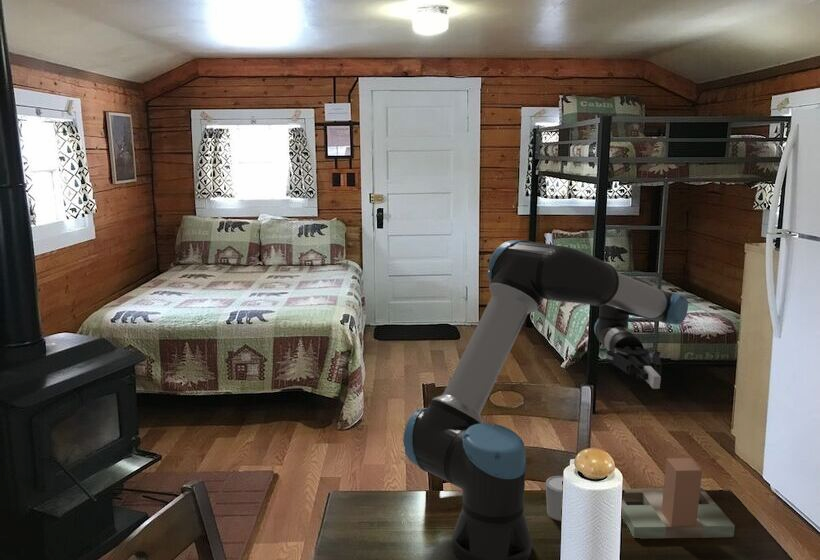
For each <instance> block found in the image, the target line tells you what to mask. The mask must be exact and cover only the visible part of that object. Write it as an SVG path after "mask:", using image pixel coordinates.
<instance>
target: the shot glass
mask: <svg viewBox="0 0 820 560" xmlns="http://www.w3.org/2000/svg"><path fill="white" fill-rule="evenodd" d="M562 481H563V475H554V476H550V477H548V478H547V479H546V481H545V495H546V496H545V499H546V514H547V515H548V516H549V517H550V519H553V520H555V521H559V522H562V521H561V509H562Z"/></svg>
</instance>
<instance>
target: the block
mask: <svg viewBox="0 0 820 560" xmlns="http://www.w3.org/2000/svg"><path fill="white" fill-rule="evenodd" d="M664 468H665V469H664V470H665V471H664V481H663V488H664V490H663V501H662V514H663V515H664V517H665V518H666V520H667V521H668V522H669V524H670V525H671V526H696V524H697V514H698V505H699V495H700V488H701V485H702V484H701V483H702V472H703V470H702V468H701V467H700V466H698V465H697V463H696V462H695V460H693V459H692V458H691V457H689V458H688V457H681V458H680V457H677V458H675V457H674V458H673V457H671V458H668V457H667V458H666V459H665V467H664Z"/></svg>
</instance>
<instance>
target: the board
mask: <svg viewBox="0 0 820 560" xmlns="http://www.w3.org/2000/svg"><path fill="white" fill-rule="evenodd" d="M622 489H623V490H624V491H625V493H624V496H623V500H622V518H621V520H622V519H623V520H622V522H623V523H624V522H625V523H624V525H625V524H626V525H627V527H628V528H629V530H630V532H631V533H630V532H629V533H630V535H631V534H632V535H631V537H632V536H633V537H634V538H640V539H686V538H687V539H689V538H690V539H695V538H700V539H701V538H705V539H706V538H734V535H735V526H736V525H735V524H734V523H733V521H731V519H730V518H729V517H728V516H727V515H726V513H725V512H723V510H722V509H721V507H720V506H718V504H717V503H716V502H715V501H714V500H713V499H712V497H711V496H710V495H709V494H708V493H707V492H706V490H705V489H704V488H702V487H700V495H699V505H698V514H697V524H696V526H671V525H670V524H669V522H668V521H667V520H666V518H665V517H664V515H663V514H662V501H663V490H664V487H663V488H622ZM626 525H625V526H626ZM627 527H626V528H627ZM628 528H627V529H628ZM629 530H628V531H629ZM633 537H632V538H633ZM634 538H633V539H634Z"/></svg>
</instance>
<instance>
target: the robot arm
mask: <svg viewBox="0 0 820 560" xmlns="http://www.w3.org/2000/svg"><path fill="white" fill-rule="evenodd" d="M487 267H488V269H489V270H488V271H487V277H488V282H489V283H490V284H489V286H488V289H489V293H490V295H491V297H490V299H489V301H488V302H487V305H486V307H485V310H484V311H483V313H482V315H481V317H480V318H479V322H477V326H476V328H475V329H474V331H473V334H471V335H472V336H471V337H470V339H469V341H468V343H467V345H466V347H465V349H464V351H463V354H462V355H461V357H460V360H459V361H458V364H457V365H456V368H455V369H454V370H453V373H452V375H451V377H450V379H449V381H448V382H447V383H448V384H447V386H446V387H445V389H444V392H443V393H442V394H441V395H438V396H435V397H433V398H432V399H431V400H430V403H429V405H428V407H424V408H423V407H422V408H420V409H417V411H414V412H413V413H412V415H411V416H410V417H409V418H408V420H407V422H406V424H405V428H404V431H403V435H402V436H403V437H402V438H403V439H402V441H403V443H402V444H403V446H404V453H405V456H406V457H407V459H408V460H409V461H410V462H411V463H412V464H413V465H415V466H417V467H419V468H420V470H422V471H424V472H426V473H430V474H432V475H433V476H436V477H437V478H439V479H441V480H443V481H446V482H448V483H450V484H451V485H454V486H455V487H458V488H459V489H461V491H462V507H461V510H460V513H459V516H458V519H457V522H456V524H455V527H454V529H453V533H452V548H453V551H454V554H455V555H456V556H457V557H458V558H459V560H529V558H530V556H531V554H532V541H533V539H532V535H531V532H530V530H529V526H528V523H527V520H526V516H525V514H524V507H525V505H524V504H525V490H526V489H525V488H526V487H525V486H526V485H525V484H526V470H527V458H526V447H525V443H524V441H523V439H522V438H521V437H520V436H519V434H518V433H517V432H515V431H514V430H512V429H510V428H509V427H506V426H503V425H501V424H497V423H495V424H491V423H489V422H486V423H485V422H483V419H482V416H481V413H482V410H483V409H484V406H485V404H486V403H487V400H488V398H489V396H490V395H491V392H492V390H493V388H494V385H495V383H497V379H498V377H499V375H500V373H501V371H502V369H503V367H504V365H505V363H506V361H507V358H508V356H509V354H510V352H511V350H512V348H513V346H514V344H515V342H516V340H517V338H518V335H519V333H520V331H521V329H522V327H523V326H524V323H525V321H526V319H527V317H528V315H529V314H531V313H534V312H537V311H538V310H539V308H540V306H541V304H542V302H543V299H545V300H550V301H556V302H562V303H573V304H582V305H584V304H586V305H590V306H594V307H598V308H599V310H598V311H599V313H598V318H597V319H596V321H595V323H594V325H593V326H594V327H593V330H594V334H595V336H596V339H597V340H598V342H600V343H601V345H602V346H603V347H604V348H605V349H606V350H607V351H606V362H608V363H610V364H612V365H614V367H617V368H618V369H620V370H622V371H623V372H624V373H626V374H627V375H629V376H633V375H634V374H635V375H636V379H637V380H643V381H645V382H646V383H647V384H649V386H650V387H651V388H652V390H653V389H654V390H655V389H656V390H657V389H660V388H661V380H662V376H661V374H662V368H663V367H662V365H663V364H662V362H661V352H660V351H655V352H651V353H650V351H649V350H648V349H646V348H644V345H643V343H642V342H641V340H640V339H639V338H638V336H636V335H635V334H634V333H633V332H632V331H631V330H630V329H629V319H630V316H632V317H635V318H636V317H637V318H642V319H646V320H650V321H653V322H654V321H655V322H659V323H662V324H663V323H664V324H667V325H668V324H670V325H676V326H677V325H681V324H682V323H683V321H685V320H686V317H687V315H688V310H689V303H688V299H687V297H686V296H685V295H683V294H680V293H676V292H670V291H666V290H663V289H660V288H657V287H655V286H652V285H650V284H647V283H645V282H642V281H640V280H637V279H635V278H633V277H630V276H629V275H626V274H622V273H620V272H618V271H617V269H616V268H615V267H614V266H613V265H612V264H610V263H608V262H606V261H603V260H601V259H599V258H597V257H595V256H593V255H590V254H589V253H586V252H583V251H581V250H579V249H576V248H574V247H569V246H566V245H565V246H564V245H557V244H549V243H542V242H536V241H535V242H534V241H532V240H527V239H520V240H519V239H512V240H507V241H505V242H503V243H501V244H500V245H499V246H497V248H496V249H495V250H494V252H493V253H492V254H491V256H490V259H489V261H488V265H487Z"/></svg>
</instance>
